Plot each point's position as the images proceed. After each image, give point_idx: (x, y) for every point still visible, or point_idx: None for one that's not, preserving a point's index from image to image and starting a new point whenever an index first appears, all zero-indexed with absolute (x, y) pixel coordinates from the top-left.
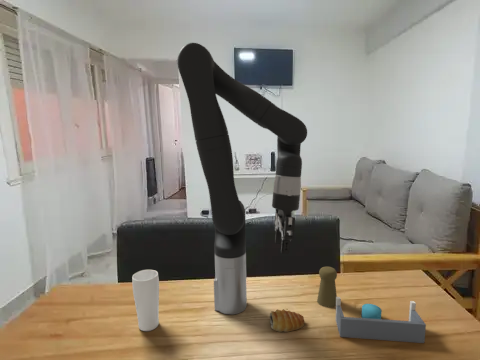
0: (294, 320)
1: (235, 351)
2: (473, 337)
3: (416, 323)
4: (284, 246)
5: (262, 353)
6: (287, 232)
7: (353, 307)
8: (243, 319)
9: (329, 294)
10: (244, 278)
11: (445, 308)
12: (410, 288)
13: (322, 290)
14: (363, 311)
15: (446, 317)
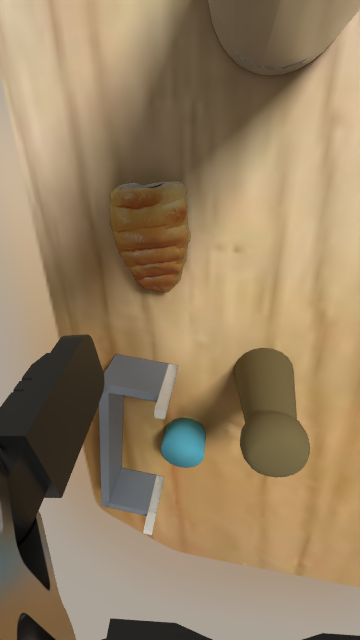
0: (130, 262)
1: (10, 44)
2: (136, 528)
3: (102, 496)
4: (10, 399)
5: (23, 145)
6: (44, 590)
7: (230, 419)
8: (178, 65)
9: (240, 394)
10: (253, 1)
11: (215, 544)
12: (295, 541)
13: (253, 384)
14: (178, 433)
15: (187, 531)
